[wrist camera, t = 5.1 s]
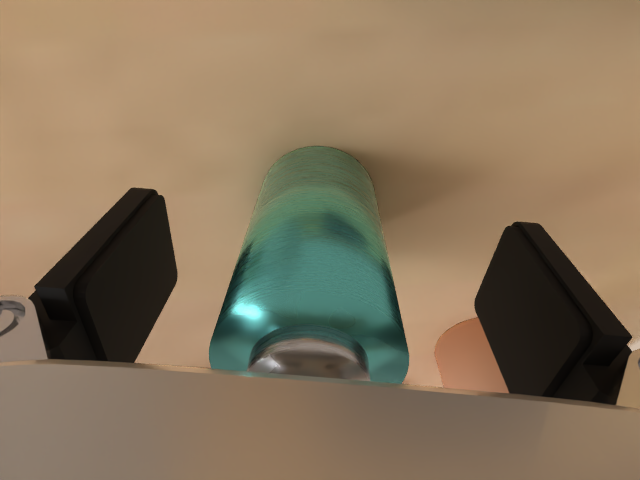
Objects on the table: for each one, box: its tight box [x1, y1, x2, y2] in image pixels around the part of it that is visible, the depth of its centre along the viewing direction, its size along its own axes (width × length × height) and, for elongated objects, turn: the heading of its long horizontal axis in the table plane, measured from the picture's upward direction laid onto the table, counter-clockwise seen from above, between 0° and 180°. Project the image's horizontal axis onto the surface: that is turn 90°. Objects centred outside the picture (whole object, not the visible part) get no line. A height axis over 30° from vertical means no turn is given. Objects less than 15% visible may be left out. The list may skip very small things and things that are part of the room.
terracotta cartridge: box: [435, 318, 509, 393], centre depth 14 cm, size 4×4×8 cm
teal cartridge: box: [209, 146, 409, 384], centre depth 10 cm, size 4×4×8 cm
